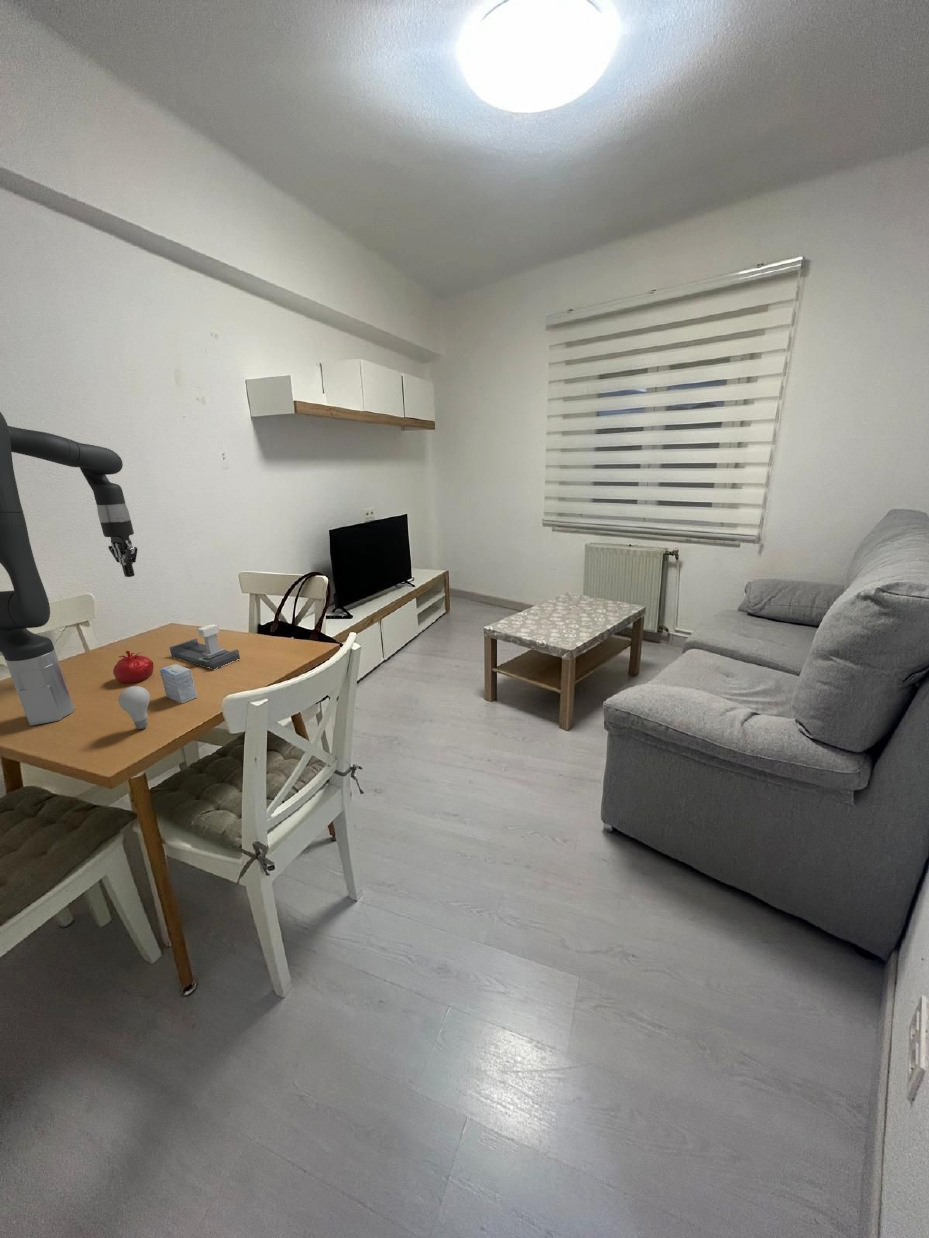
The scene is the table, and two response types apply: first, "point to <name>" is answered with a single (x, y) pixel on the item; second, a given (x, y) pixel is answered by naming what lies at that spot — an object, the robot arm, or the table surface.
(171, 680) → the medicine box
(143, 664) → the pomegranate
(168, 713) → the table surface
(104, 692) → the table surface
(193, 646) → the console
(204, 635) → the fader
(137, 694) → the lightbulb
